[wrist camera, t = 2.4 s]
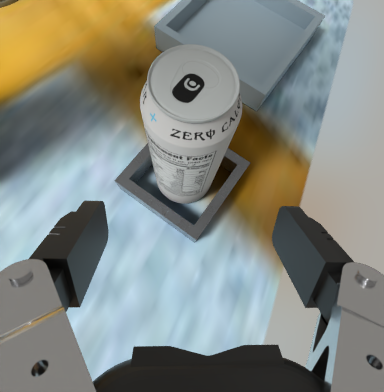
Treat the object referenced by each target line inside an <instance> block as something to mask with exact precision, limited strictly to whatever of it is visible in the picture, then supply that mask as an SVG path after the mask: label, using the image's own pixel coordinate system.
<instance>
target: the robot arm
mask: <svg viewBox="0 0 384 392" xmlns="http://www.w3.org/2000/svg"><path fill="white" fill-rule="evenodd" d="M107 240H108V225H107V218H106V211H105V205H104V202H103V201H84V202H83V203H82V204H81V206H80V207H79V208H78V210H77V211H76V212H70V213H68V214H67V215H65V216H64V217H62V218H61V219H60V220H59V221H58V222H57V224H56V225H55V226H54V228H53V229H52V230H51V231H50V233H49V235H47V236H46V238H45V239H44V240H43V241H42V243H41V244H40V245H39V246H38V248H37V249H36V250H35V252H34V253H33V254H32V255H31V257H30V258H29V259H28V260H23V261H20V262H17V263H14V264H12V265H10V266H8V267H7V268H5V269H4V270H2V271H1V272H0V392H384V275H383V274H381V273H380V272H379V271H377V270H375V269H373V268H372V267H369V266H367V265H364V264H361V263H355V262H354V261H353V260H352V259H351V258H350V257H349V256H348V255H347V253H346V252H345V251H344V250H343V249H342V248H341V247H340V246H339V244H338V243H337V242H336V241H335V240H333V238H332V237H331V235H329V234H328V232H327V231H326V230H325V229H324V228H323V227H322V225H321V224H319V223H318V222H316V221H315V220H313V219H312V218H309V217H308V216H307V215H306V214H305V213H304V211H303V210H302V209H301V208H300V207H294V206H282V207H281V208H280V209H279V212H278V215H277V219H276V223H275V226H274V230H273V234H272V242H273V246H274V248H275V250H276V252H277V254H278V256H279V257H280V259H281V261H282V263H283V265H284V267H285V269H286V271H287V273H288V275H289V277H290V279H291V281H292V282H293V284H294V286H295V288H296V290H297V292H298V294H299V296H300V298H301V300H302V302H303V304H304V306H305V308H319V310H320V314H319V316H318V319H317V323H316V327H315V331H314V336H313V340H312V344H311V349H310V353H309V357H308V361H307V363H306V366H305V367H303V366H301V365H299V364H298V363H296V362H293V361H291V360H288V359H286V358H282V355H281V352H280V349H279V346H278V345H243V346H240V347H237V348H233V349H230V350H227V351H224V352H221V353H218V354H214V355H211V356H205V355H201V354H197V353H194V352H190V351H186V350H183V349H179V348H175V347H171V346H146V347H134V348H133V354H132V359H130V360H127V361H124V362H122V363H120V364H118V365H116V366H114V367H112V368H110V369H109V370H107V371H106V372H104V373H103V374H102V375H100V376H99V377H98V378H96V379H95V380H94V381H93V382H92V379H91V377H90V374H89V372H88V369H87V366H86V364H85V361H84V359H83V356H82V353H81V351H80V348H79V346H78V343H77V340H76V338H75V335H74V333H73V330H72V327H71V325H70V322H69V320H68V317H67V314H66V311H67V309H68V307H80V306H81V303H82V301H83V299H84V296H85V294H86V292H87V289H88V287H89V284H90V282H91V280H92V277H93V275H94V272H95V270H96V268H97V265H98V263H99V261H100V258H101V256H102V253H103V251H104V249H105V246H106V244H107Z"/></svg>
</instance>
